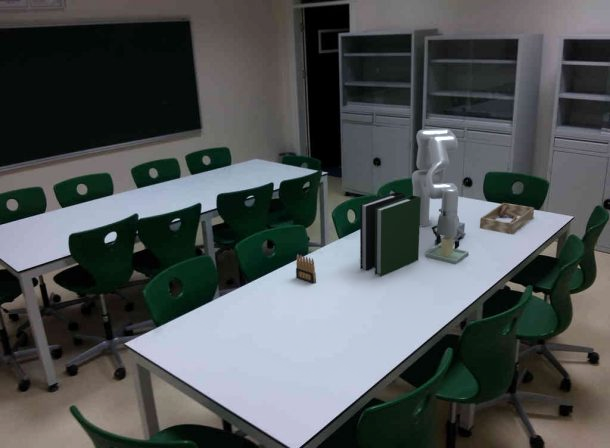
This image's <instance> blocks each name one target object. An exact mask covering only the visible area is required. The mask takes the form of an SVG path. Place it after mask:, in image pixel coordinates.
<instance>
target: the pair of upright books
mask: <svg viewBox="0 0 610 448" xmlns="http://www.w3.org/2000/svg"><path fill="white" fill-rule="evenodd" d="M420 202H421V197H418V196H413V194H412V195H409V196H406V193H403V192H399V191H394V192H392V193H389V194H387V195H384V196H380V197H378V198H375V199H372V200H370V201H367V202H364V203H360V204H359V226H360V227H359V231H360V232H359V233H360V234H359V236H360V237H359V240H360V241H359V243H360V245H359V246H360V247H359V249H360V250H359V252H360V253H359V255H360V258H359V261H360V263H359V264H360V266H359V267H360V270H363V269H365V272H368V271H370V270H372V269H374V275H375V276H376V275H377V274H380V278H381V277H384V276H386V275H388V274H391V273H393V272H395V271H398V270H399V269H403V268H405V267H406V266H409V265H410V264H413V263H415V262H418V261H419V258H420V257H419V256H420V255H419V253H420Z"/></svg>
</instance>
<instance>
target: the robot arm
mask: <svg viewBox="0 0 610 448" xmlns="http://www.w3.org/2000/svg"><path fill="white" fill-rule="evenodd" d="M416 142H417V146H418V148H417V155H416V167H417V169H418V170H415V171H414V172H412V174H411V182H412V195H413V196H418V197H421V202H420V227H424V228H425V227H428V226H430V225H432V224H433V223H432V220H431V219H430V206H431V205H430V203H431V202H430V201H431V200H440V199H441V207H440V208H439V209H438V212H440V214H439V215H438V217H437V224H436V225H433V226H432V227H431V230H432V234H433V235H434V236H435V240H436V242H437V245H436V246H438V245H440V244H441V238H442V236H443V237H445V236H448V237H454V238H455V240H456V241H455V243H454V246H453V248H455V249H458V248H459V247H460V243H461V242H460V241H461V240H462V239H463V237H464V238H465V236H466V232H465V231H464V232H463V231H462V230H461V229H459V222H460V218H459V216H458V209H459V208H458V205H459V189H458V188H457V186H456V184H455V183H453V182H447V183H446V182H445V183H443V182H444V177H445V172H446V168H447V167H448V166H449V165H450V159H449V154H448V153H453V152H456V151H457V150H458V148H459V142H458V139H457V136H456V135H455V134H454V133H453V132H452V130H450V129H448V128H439V129H438V128H437V129H436V128H435V129H432V128H431V129H419V130H418V131H417V133H416ZM459 233H460V234H461V236H460V237H459Z"/></svg>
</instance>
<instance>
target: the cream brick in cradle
mask: <svg viewBox="0 0 610 448" xmlns="http://www.w3.org/2000/svg"><path fill="white" fill-rule="evenodd" d="M443 237H444V238H443ZM443 237H441V238H442V239H441V243H440V244H441V256H442V257H448V256H449V255H451V254H452V253H453V248H454V244H453V239H454V237H448V236H446V237H445V236H443Z"/></svg>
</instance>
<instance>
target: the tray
mask: <svg viewBox="0 0 610 448" xmlns="http://www.w3.org/2000/svg"><path fill="white" fill-rule="evenodd" d="M424 255H425V258H428V259H433V260H437V261H440V262H446V263H449V264H454V265H457V264H458V263H459V262H461V261H463V259H465V258H466V257H468V256H469V251H467V250H463V249H458V248H457V249H455V248H454V247H453V253H452V254H451V255H449V256H448V257H442V256H441V245H440V244H439V245H435V246H434V247H433V248H432V249H430V250H429V251H427V252H425V254H424Z"/></svg>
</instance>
